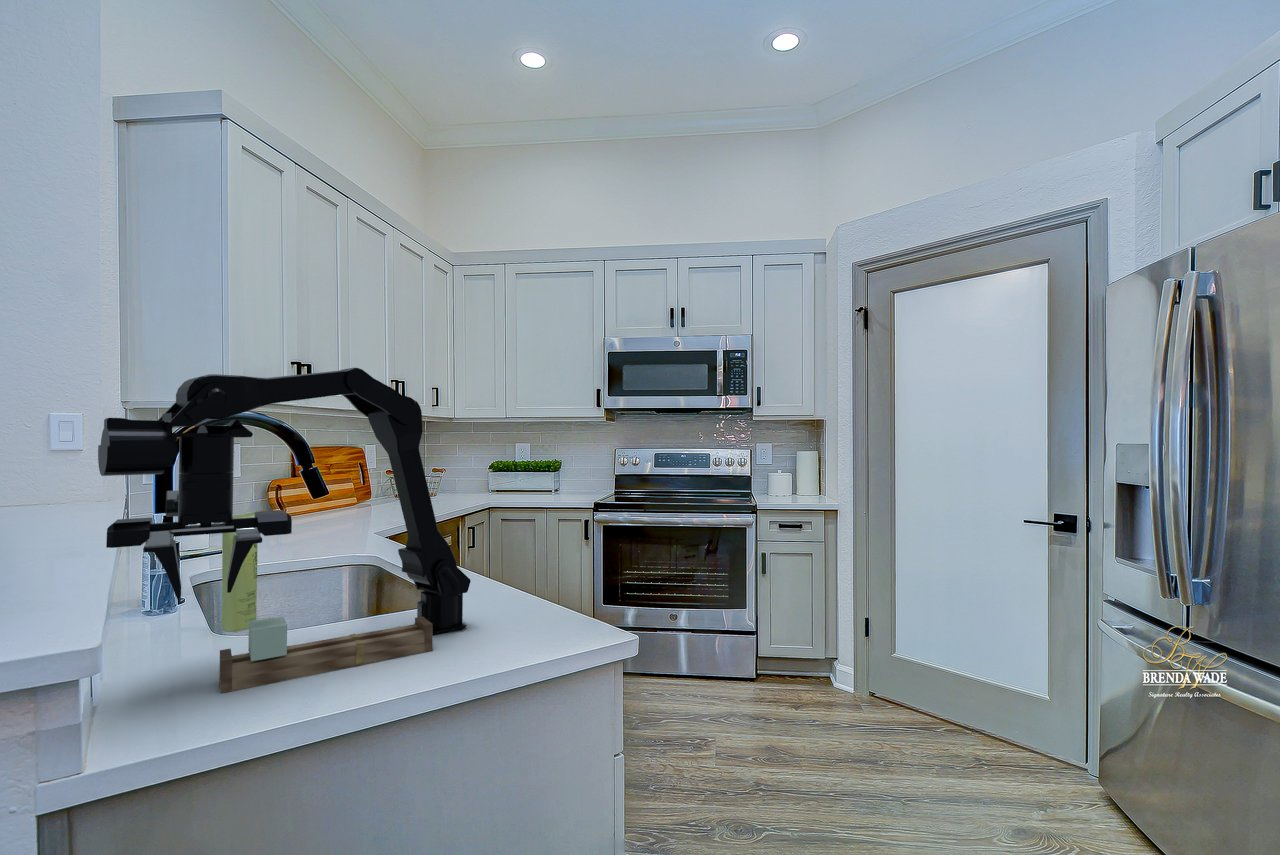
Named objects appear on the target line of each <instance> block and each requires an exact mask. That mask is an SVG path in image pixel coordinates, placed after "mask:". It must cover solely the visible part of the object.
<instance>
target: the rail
mask: <svg viewBox="0 0 1280 855" xmlns="http://www.w3.org/2000/svg"><path fill="white" fill-rule="evenodd" d="M433 635H434V634H433V624H432V623H431V622H429V621H428V620H427V619H425V618H424V617H423V616H422V617H417V616H416V617H414V623H413V624H409V625H408V624H407V625H402V626H396V627H391V628H385V629H380V630H372V631H368V632H362V633H352V634H349V635H345V636H339V637H333V638H326V639H321V640H315V641H310V642H304V643H299V644H292V645H287V655H284V656H279V657H273V658H267V659H262V660H256V661H251V659H250V655H249V652H245V653H241V654H234V655H232V649H231V648H225V649H224V648H223V649H220V650H219V664H218V665H219V668H218V669H219V670H218V671H219V672H218V674H219V675H218V677H219V678H218V679H219V680H218V684H219V692H220V694H224V693H230V692H233V691H239V690H244V689H250V688H253V687H259V686H265V685H269V684H273V683H279V682H284V681H289V680H293V679H298V678H304V677H308V676H309V677H310V676H313V675H318V674H324V673H328V672H334V671H338V670H342V669H343V670H344V669H347V668H354V667H358V666H363V665H369V664H374V663H377V662H378V663H379V662H383V661H387V660H393V659H398V658H402V657H403V658H404V657H408V656H414V655H417V654H423V653H428V652H432V651H433Z"/></svg>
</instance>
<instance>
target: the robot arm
mask: <svg viewBox="0 0 1280 855" xmlns="http://www.w3.org/2000/svg"><path fill="white" fill-rule="evenodd" d="M340 395H341V396H342V397H344V398H345V399H347V401H348V402H350V404H351V405H352V406H353V407H354V408H355V410H356V411H358V412H359V413H361V414H362V415H364V417H366V418H367V419H368V422H369V425H370V427H371V429H372V431H373V433H374V436H375V438H376V440H377V441H378V442H379V443H380V445H381V446H382V447H383V449H384V450H385V452H386V453H387V455H388V458H389V463H390V466H391V471H392V475H393V480H394V483H395V487H396V492H397V496H398V499H399V504H400V506H401V507H400V508H401V511H402V515H403V520H404V524H405V528H406V532H407V540H406V543H405V544H406V545H405V547H402V548H399V549H398V550H397V552H398V553H397V554H398V556H399V558H400V561H401V566H402V567H401V572H402V573H405V574H406V575H407V577H408V578H409V579H410V580H412V581H413V583H414V585H415V586H414V587H415V589H416V590H418V591H420V600H419V601H417V605H416V606H417V608H416V611H417V613H416V614H417V616H416V617H422V616H423V617H424V618H425V619H427V620H428V621H429V622H431V623H432V624H433V635H436V634H441V633H447V632H452V631H458V630H462V629H463V630H464V629H467V624H466V623H464V621H463V615H464V613H463V612H464V611H463V606H464V605H463V604H464V600H463V598H464V597H463V596H464V594H466V593H468V591H469V588H470V584H471V579H470V578H469V577H468V576H467V575H466V573H464V572H463V571H462V570H461V569H460V568H459V567H458V563H457V560H456V558H455V555H454V553H453V551H452V548H451V546H450V544H449V543H448V542H447V540H446V539H445V537H444V536H443V535H442V534H441V532H440V531H439V528H438V524H437V521H436V515H435V512H434V506H433V503H432V499H431V495H430V490H429V486H428V481H427V478H426V477H427V476H426V473H425V468H424V465H423V464H424V463H423V461H422V456H421V453H420V445H421V441H422V436H423V432H424V427H423V413H422V408H421V406H420V404H419V402H418V401H417V400H415V399H414V398H412V397H411V396H410V397H409V396H407V395H402V394H401V393H400V392H398V391H397V389H394V388H392V387H391V386H388V385H386V384H385V383H383V382H382V381H379V380H378V379H376V378H374V377H373V376H372V375H370V373H367V372H366V371H365V370H364V369H362V368H359V367H350V368H344V369H339V370H333V371H331V370H330V371H325V372H323V371H322V372H311V373H304V374H302V373H301V374H293V375H283V376H282V375H281V376H274V377H254V376H247V375H246V376H245V375H237V374H236V375H234V374H233V375H232V374H220V373H219V374H216V373H215V374H214V373H212V374H206V375H201V376H197V377H193V378H190V379H188V380H185V381H184V382H183V383H182V384H181V385H180V386H179V387H178V388H177V390H176V394H175V402H174V403H173V404H172V405H171V406H170V407H168V409H167V410H166V411H165V412H164V413H162V415H161V417H159V418H158V419H157V420H154V419H153V420H152V419H149V420H147V419H129V418H122V417H105V419H104V420H103V429H102V433H101V438H100V444H99V445H98V447H97V460H98V461H97V462H98V470H99V474H100V475H101V476H102V477H109V476H113V477H114V476H115V477H116V476H138V475H139V476H141V475H142V476H143V475H145V476H146V475H148V476H149V475H163V474H165V470H166V468H167V467H172V466H174V465H175V464H176V462H177V456H178V455H179V456H178V490H167V491H165V516H166V518H173V517H174V518H175V517H177V521H170V522H155V523H153V521H154V520H153V517H139V518H138V517H137V518H121V519H116V520H115V521H114V522H113V523H111V524H110V525H109V526H108V527H107V528H106V545H105V546H106V548H108V549H114V548H115V549H116V548H125V547H139V546H141V547H142V545H144V547H143V548H142V550H143V553H154V555H155V557H156V558H157V560H158V561H159V563H160V565H161V566H162V568H163V569H164V571H165V573H166V576H167V578H168V580H169V582H170V585H171V588H172V590H173V592H174V596H175V598H176V599H177V600H178V599H179V600H180V599H182V580H181V573H180V566H179V565H180V564H179V560H178V553H177V550H178V549H177V543H176V539H175V537H186V536H200V535H213V534H214V535H215V534H216V535H217V534H222V533H231V532H236V535H234V538H233V547H232V553H231V559H230V565H229V571H228V577H227V593H230V592H231V591H232V588H233V586H234V583H235V581H236V578H237V576H238V573H239V571H240V568H241V566H242V564H243V562H244V560H245V558H246V556H247V555H248V553H249V551H250V549H251V548H252V546H253V544H255V543H257V544H261V543H263V538H262V536H261V534H262V535H263V536H264V537H268V536H280V535H283V536H284V535H290V534H293V533H292V532H293V531H292V528H293V527H292V526H293V525H292V524H293V521H292V516H291V515H290V514H289V513H287V512H286V511H285V510H284V509H281V510H280V509H278V510H263V511H262V510H261V511H260V510H259V511H258V510H257V511H258V512H255V516H254V517H250V518H233V515H234V513H233V511H234V509H233V508H234V462H235V458H234V456H235V455H234V454H235V453H234V452H235V438H239V439H242V438H252V437H253V435H254V434H253V432H252V431H251V430H249V429H248V428H247V427H245V426H244V425H243V423H242V422H241V420H240V419H233V420H232V419H231V420H230V421H229V422H228V423H227V424H201V425H200V426H199V427H198V429H197V432H173V428H185V427H186V428H187V427H193V426H195V425H198V424H199V423H201V422H203V421H212V420H213V421H214V420H222V419H226V418H229V417H233V416H236V415H239V414H242V413H246V412H249V411H252V410H256V409H258V408H262V407H265V406H269V405H272V404H280V403H287V402H295V401H302V400H303V401H304V400H309V399H317V398H318V399H319V398H325V397H334V396H340ZM177 438H179V442H178V444H179V447H178V444H177ZM178 448H179V450H178ZM222 522H223V523H222Z"/></svg>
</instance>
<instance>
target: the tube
mask: <svg viewBox="0 0 1280 855" xmlns="http://www.w3.org/2000/svg"><path fill="white" fill-rule="evenodd" d="M255 512H258V510H254V511H249V512H243V513H237V514H233V518H250V517H254V516H255ZM222 523H223V522H222ZM222 523H221V524H222ZM221 534H222V536H221V537H222V538H221V539H222V541H221V545H222V546H221V547H222V548H221V549H222V558H221V560H222V565H221V570H222V571H221V572H222V573H221V574H222V575H221V580H222V582H221V583H222V584H221V585H222V586H221V596H222V597H221V630H222V631H223V632H226V633H237V632H242V631H246V630H249V621H252V620H257V602H258V601H257V600H258V598H257V597H258V596H257V594H258V591H257V590H258V543H255V544H253V546H252V548H251V549H250V551H249V553H248V555H247V556H246V558H245V560H244V562H243V564H242V566H241V568H240V571H239V573H238V576H237V578H236V581H235V583H234V586H233V588H232V591H231V592H230V593H227V577H228V571H229V565H230V559H231V553H232V547H233V538H234V535H236V532H231V533H221Z"/></svg>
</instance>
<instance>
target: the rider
mask: <svg viewBox="0 0 1280 855" xmlns="http://www.w3.org/2000/svg"><path fill="white" fill-rule="evenodd" d="M287 646H288V623H287V622H286V620H285V617H284V616H283V615H281V616H275V617H266V618H261V619H256V620H252V621H249V629H248V650H247V652H248V653H249V655H250V659H251V661H256V660H262V659H267V658H273V657H279V656H284V655H287Z"/></svg>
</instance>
